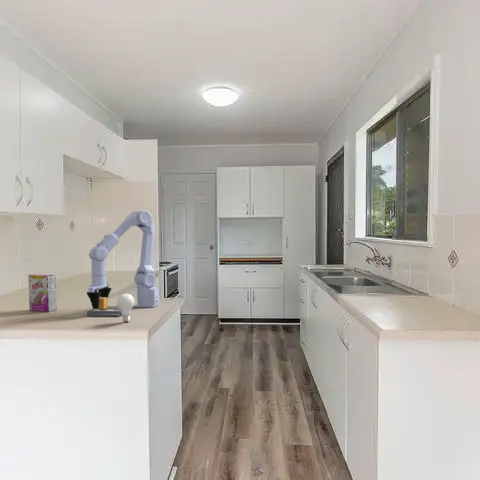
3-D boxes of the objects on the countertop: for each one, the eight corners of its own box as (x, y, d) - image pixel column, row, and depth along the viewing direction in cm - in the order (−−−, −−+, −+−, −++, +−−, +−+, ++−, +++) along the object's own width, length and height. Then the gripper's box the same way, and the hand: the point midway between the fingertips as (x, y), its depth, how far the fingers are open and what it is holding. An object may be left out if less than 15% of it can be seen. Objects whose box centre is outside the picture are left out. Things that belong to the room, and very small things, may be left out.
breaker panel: (130, 310, 170) (130, 306, 170) (121, 316, 160) (121, 311, 160) (98, 310, 172) (98, 305, 172) (86, 315, 162) (86, 310, 162)
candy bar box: (28, 311, 173) (27, 274, 173) (37, 309, 178) (36, 273, 177) (48, 312, 170) (47, 275, 169) (57, 310, 174) (56, 273, 174)
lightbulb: (119, 320, 152) (119, 292, 152) (136, 319, 153) (135, 292, 152) (116, 324, 146) (115, 295, 146) (133, 323, 146) (132, 294, 146)
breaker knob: (107, 307, 168) (107, 297, 168) (103, 309, 164) (103, 298, 164) (101, 307, 168) (100, 297, 168) (97, 308, 165) (96, 298, 164)
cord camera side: (119, 316, 160) (119, 313, 160) (118, 317, 159) (118, 314, 158) (90, 316, 161) (90, 313, 161) (89, 316, 160) (89, 313, 160)
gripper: (98, 272, 174) (99, 303, 174) (81, 277, 159) (82, 310, 160) (113, 272, 173) (114, 303, 173) (97, 276, 158) (98, 310, 159)
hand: (99, 306), depth 166 cm, fingers open, 7 cm apart
